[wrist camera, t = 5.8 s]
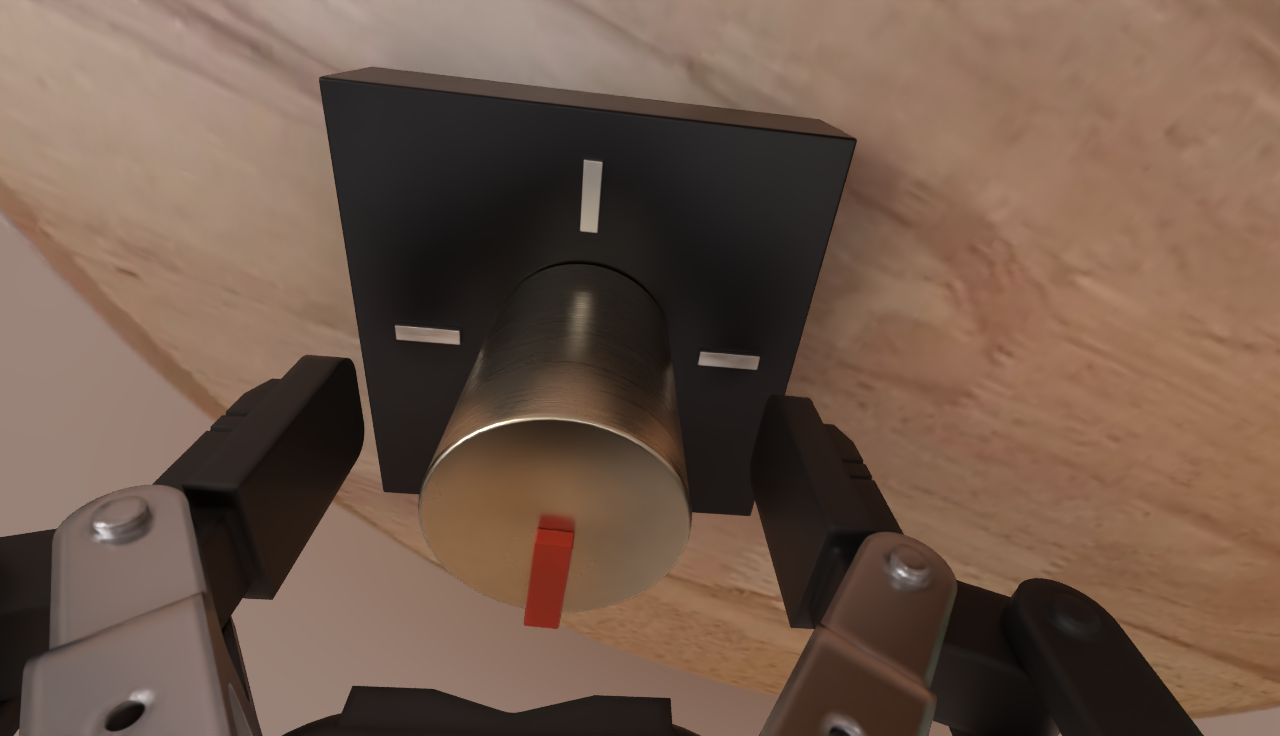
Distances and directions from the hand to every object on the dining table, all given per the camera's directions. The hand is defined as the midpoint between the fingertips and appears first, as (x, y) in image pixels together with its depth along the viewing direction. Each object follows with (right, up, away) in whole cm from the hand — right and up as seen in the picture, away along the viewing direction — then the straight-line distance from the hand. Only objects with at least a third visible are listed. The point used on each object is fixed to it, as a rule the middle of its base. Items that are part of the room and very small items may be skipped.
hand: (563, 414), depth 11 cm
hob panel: (0, +3, +4) cm, 5 cm away
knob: (0, +1, +2) cm, 2 cm away
